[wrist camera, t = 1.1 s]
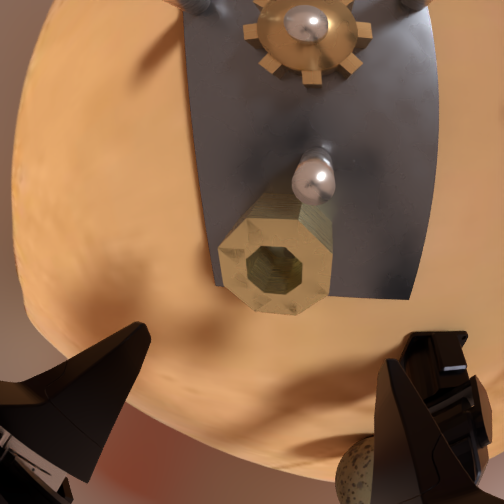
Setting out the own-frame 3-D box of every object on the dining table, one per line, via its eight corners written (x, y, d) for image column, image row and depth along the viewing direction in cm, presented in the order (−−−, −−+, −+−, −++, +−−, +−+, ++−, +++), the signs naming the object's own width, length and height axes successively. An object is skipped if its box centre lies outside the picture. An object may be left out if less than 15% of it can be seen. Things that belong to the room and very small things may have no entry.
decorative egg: (419, 430, 29) (418, 514, 16) (373, 451, 35) (365, 523, 22) (372, 420, 29) (363, 520, 16) (326, 442, 35) (311, 523, 22)
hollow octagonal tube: (327, 278, 19) (325, 317, 15) (244, 272, 20) (227, 308, 17) (332, 195, 16) (335, 221, 12) (236, 193, 17) (213, 216, 14)
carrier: (406, 291, 18) (422, 350, 13) (219, 278, 22) (189, 329, 17) (415, -19, 7) (444, -56, 2) (188, -13, 11) (139, -42, 6)
